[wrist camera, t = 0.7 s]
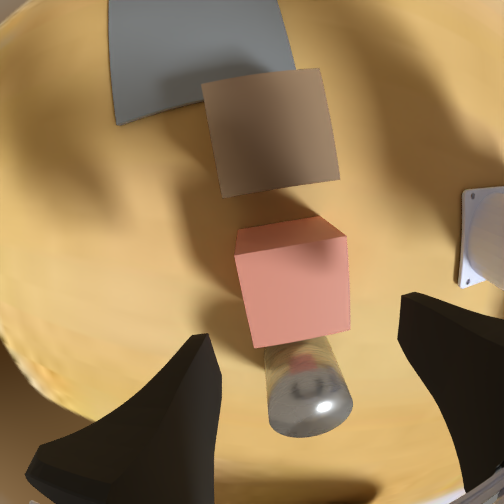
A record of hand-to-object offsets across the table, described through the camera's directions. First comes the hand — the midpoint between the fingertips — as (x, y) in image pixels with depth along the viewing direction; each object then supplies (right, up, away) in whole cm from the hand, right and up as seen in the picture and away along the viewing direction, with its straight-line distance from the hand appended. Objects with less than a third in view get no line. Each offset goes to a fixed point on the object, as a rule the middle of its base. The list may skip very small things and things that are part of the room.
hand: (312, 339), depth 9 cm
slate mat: (-6, +17, +3) cm, 18 cm away
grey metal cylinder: (+1, -4, +10) cm, 11 cm away
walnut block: (-1, +10, +6) cm, 11 cm away
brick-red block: (0, +3, +8) cm, 8 cm away
